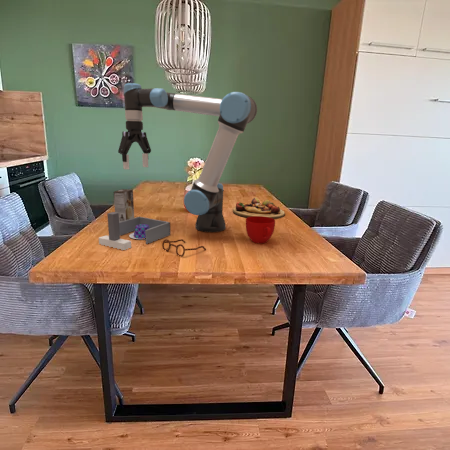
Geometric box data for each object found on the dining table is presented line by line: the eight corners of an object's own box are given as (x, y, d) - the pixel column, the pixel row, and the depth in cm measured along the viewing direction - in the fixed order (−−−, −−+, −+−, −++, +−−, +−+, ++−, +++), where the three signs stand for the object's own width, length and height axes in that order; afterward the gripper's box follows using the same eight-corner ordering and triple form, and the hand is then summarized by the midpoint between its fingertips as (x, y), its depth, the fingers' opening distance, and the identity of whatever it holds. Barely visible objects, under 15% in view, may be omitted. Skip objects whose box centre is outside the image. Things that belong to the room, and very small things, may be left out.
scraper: (131, 248, 130) (129, 214, 126) (124, 250, 126) (122, 216, 123) (106, 241, 136) (104, 209, 132) (99, 244, 133) (96, 211, 129)
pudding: (124, 236, 145) (123, 224, 144) (147, 231, 154) (146, 220, 152) (137, 242, 137) (137, 230, 136) (161, 237, 145) (161, 226, 144)
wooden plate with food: (234, 219, 181) (235, 205, 179) (230, 206, 211) (231, 194, 209) (290, 221, 183) (291, 207, 180) (278, 208, 213) (280, 196, 211)
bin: (170, 234, 148) (170, 222, 147) (147, 244, 135) (146, 230, 133) (139, 228, 157) (139, 216, 155) (115, 236, 143) (114, 223, 141)
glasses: (161, 250, 130) (161, 238, 128) (185, 243, 139) (185, 232, 138) (183, 259, 121) (183, 246, 120) (207, 250, 131) (207, 239, 130)
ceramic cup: (254, 249, 132) (255, 226, 130) (240, 237, 148) (241, 216, 145) (282, 247, 136) (284, 225, 133) (266, 236, 152) (268, 215, 149)
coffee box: (123, 217, 175) (122, 188, 171) (134, 218, 174) (133, 189, 170) (115, 222, 166) (113, 191, 162) (126, 223, 165) (124, 192, 161)
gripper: (145, 122, 158) (146, 165, 163) (107, 119, 136) (110, 169, 141) (157, 122, 155) (158, 166, 160) (121, 119, 133) (124, 170, 138)
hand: (136, 168), depth 151 cm, fingers open, 13 cm apart
